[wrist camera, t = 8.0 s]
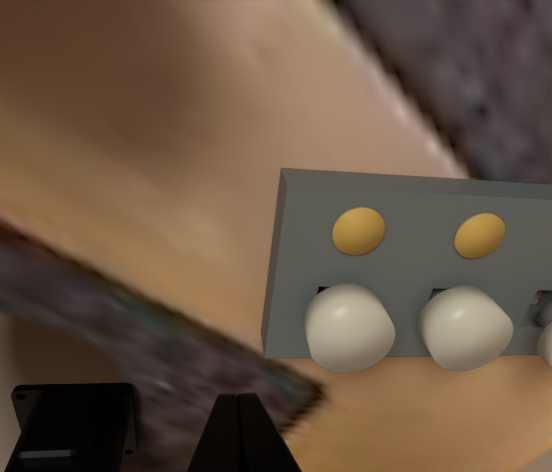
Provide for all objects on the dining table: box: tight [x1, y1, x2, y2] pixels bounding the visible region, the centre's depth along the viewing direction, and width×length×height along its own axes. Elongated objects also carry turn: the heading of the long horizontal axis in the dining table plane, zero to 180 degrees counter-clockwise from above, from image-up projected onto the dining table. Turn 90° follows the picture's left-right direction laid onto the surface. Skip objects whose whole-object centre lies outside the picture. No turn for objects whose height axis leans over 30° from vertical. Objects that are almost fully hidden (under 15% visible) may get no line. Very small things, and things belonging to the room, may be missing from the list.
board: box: [261, 168, 552, 358], centre depth 23 cm, size 10×19×2 cm, turn 84°
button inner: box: [303, 283, 395, 373], centre depth 21 cm, size 4×4×4 cm
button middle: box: [417, 285, 513, 371], centre depth 22 cm, size 4×4×4 cm
